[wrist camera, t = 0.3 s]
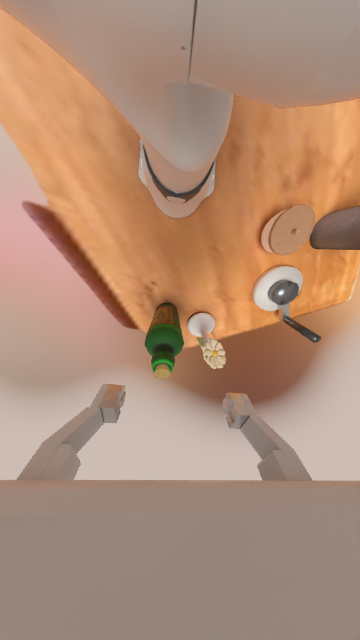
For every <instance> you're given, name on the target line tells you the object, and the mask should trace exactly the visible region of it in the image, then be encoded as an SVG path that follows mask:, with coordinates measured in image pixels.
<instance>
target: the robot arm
mask: <svg viewBox="0 0 360 640" xmlns="http://www.w3.org/2000/svg"><path fill="white" fill-rule="evenodd" d="M0 8H1V9H2V10H4V11H5V12H6V13H8V14H9V15H10V16H12V17H13V18H14V19H16V20H17V21H18V22H20V23H21V24H22V25H24V26H25V27H26V28H27V29H29V30H30V31H31V32H32V33H34V34H35V35H36V36H37V37H39V38H40V39H41V40H42V41H44V42H45V43H46V44H47V45H49V46H50V47H51V48H52V49H53V50H55V51H56V52H57V53H58V54H59V55H61V56H62V57H63V58H64V59H65V60H66V61H67V62H68V63H69V64H71V65H72V66H73V67H74V68H75V69H76V70H77V71H78V72H79V73H80V74H81V75H82V76H83V77H84V78H85V79H86V80H87V81H89V82H90V83H91V84H92V85H93V86H94V87H95V88H96V89H97V90H98V91H99V92H100V93H101V95H102V96H103V97H104V98H105V99H106V100H107V101H108V102H109V103H110V104H111V105H112V106H113V107H114V108H115V110H116V111H117V112H118V113H119V114H120V115H121V116H122V117H123V118H124V119H125V121H126V122H127V123H128V124H129V125H130V126H131V127H132V128H133V130H134V131H135V132H136V133H137V134H138V135H139V137H140V147H141V151H140V160H139V169H138V175H139V179H140V180H141V182H142V183H143V184H144V185H145V187H146V188H147V189H148V190H149V192H150V194H151V196H152V198H153V200H154V202H155V204H156V205H157V207H158V208H159V209H160V210H161V211H162V212H163V213H164V214H166V215H167V216H169V217H172V218H183V217H186V216H188V215H190V214H191V213H192V212H194V211H195V209H196V208H197V207H198V206H199V204H200V203H201V201H202V200H203V199H205V198H207V197H208V196H210V195H211V194H212V192H213V190H214V184H215V164H216V156H217V154H218V152H219V150H220V148H221V146H222V144H223V142H224V139H225V137H226V134H227V131H228V127H229V123H230V119H231V115H232V109H233V102H234V95H235V96H238V97H242V98H245V99H249V100H252V101H256V102H259V103H263V104H266V105H270V106H273V107H277V108H294V107H307V106H318V105H325V104H331V103H338V102H344V101H351V100H355V99H358V98H360V0H0ZM124 390H125V386H124V385H112V384H103V385H102V386H101V388H100V390H99V392H98V393H97V395H96V397H95V399H94V400H93V402H92V404H91V406H90V407H88V408H86V409H84V410H83V411H82V412H81V413H79V414H78V415H77V416H76V417H74V418H73V419H72V420H71V421H69V422H68V423H67V424H66V425H64V426H63V427H62V428H61V429H59V430H58V431H57V432H55V433H54V434H53V435H52V436H50V437H49V438H48V439H47V440H45V441H44V442H43V443H42V444H41V446H40V447H39V449H38V450H37V451H36V453H35V454H34V456H33V457H32V459H31V460H30V461H29V463H28V464H27V465H26V467H25V469H24V470H23V471H22V473H21V474H20V475H19V477H18V478H17V480H0V640H360V481H313V480H312V479H311V477H310V475H309V474H308V472H307V470H306V469H305V467H304V466H303V464H302V462H301V460H300V459H299V457H298V456H297V454H296V452H295V451H294V449H293V448H292V447H290V445H288V444H287V443H286V442H285V441H284V440H283V439H282V438H281V437H280V436H279V435H278V434H277V433H276V432H275V431H274V430H273V429H272V428H271V427H270V426H269V425H268V424H267V423H266V422H265V421H264V420H263V419H262V418H260V417H258V416H257V414H256V412H255V410H254V408H253V406H252V404H251V402H250V400H249V398H248V396H247V395H246V394H239V393H227V394H226V398H225V399H224V400H223V409H224V412H225V413H226V414H227V417H226V419H227V422H228V425H229V428H236V429H240V430H241V432H242V433H243V434H244V436H245V437H246V438H247V440H248V441H249V443H250V444H251V445H252V446H253V448H254V449H255V450H256V452H257V453H258V455H259V456H260V457H261V459H262V461H261V462H260V463H258V465H257V467H258V469H259V472H260V475H261V477H262V480H263V481H226V480H223V481H222V480H221V481H220V480H218V481H217V480H213V481H212V480H211V481H210V480H199V481H198V480H196V481H195V480H192V481H191V480H74V477H75V475H76V473H77V471H78V468H79V466H80V460H79V458H78V457H77V455H76V454H77V452H78V451H79V450H80V449H81V448H82V447H83V446H84V445H85V444H86V443H87V441H88V440H89V439H90V438H91V437H92V436H93V435H94V434H95V433H96V432H97V430H98V429H99V428H100V427H101V426H102V425H103V423H117V420H118V417H119V415H120V408H121V407H122V406H123V403H124V400H125V395H126V393H125V391H124Z"/></svg>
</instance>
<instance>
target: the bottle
mask: <svg viewBox="0 0 360 640" xmlns="http://www.w3.org/2000/svg"><path fill="white" fill-rule="evenodd" d="M183 345H184V341H183V336H182V332H181V327H180V322H179V317H178V312H177V309H176V307H175V306H173V305H172V304H169V303H164V304H160V305H159V306H158V307H157V309H156V311H155V314H154V317H153V320H152V322H151V325H150V328H149V330H148V333H147V336H146V340H145V347H146V348H147V350H148V352H149V353H150V355H152V356H153V357H152V360H151V362H152V370H153V372H154V373H155V376H156V377H157V378H162V379H164V378H167V377H168V376H169V375H170V373H171V372H172V370H173V367H174V362H175V359H174V357H175V356H176V355H177V354H179V353H180V352H181V350H182V348H183Z"/></svg>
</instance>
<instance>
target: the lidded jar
mask: <svg viewBox="0 0 360 640" xmlns="http://www.w3.org/2000/svg"><path fill="white" fill-rule="evenodd" d="M314 224H315V215H314V212H313V210H312V208H311V207H310V206H308V205H305V204H299V205H295V206H292V207H290V208H287V209H285V210H283V211H281V212H279V213H278V214H276V215H275V216H273V217H272V218H271V219H270V220H269V221H268V222H267V224H266V225H265V227H264V229H263V231H262V235H261V243H262V246H263V248H264V249H265V250H266V251H268V252H270V253H273V254H277V255H288V254H291V253H293V252H295V251H297V250H298V249H299V248H301V247H302V246H303V245H304V244H305V242H306V241H307V240H308V238H309V237H310V235H311V233H312V231H313V228H314Z"/></svg>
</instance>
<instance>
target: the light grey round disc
mask: <svg viewBox="0 0 360 640" xmlns="http://www.w3.org/2000/svg"><path fill="white" fill-rule="evenodd" d="M280 280H288V281H292V282H295V283H297V284H298V286H299V291H300V289H301V287H302V283H303V278H302V274H301V272H300V271H299V270H298V269H296V268H294V267H289V266H282V265H281V266H275V267H272V268H270V269H268V270H267V271H265V272H264V273H263V274H262V275H261V276H260V277H259V278H258V279H257V280H256V282H255V284H254V286H253V288H252V300H253V302H254V303H255V304H256V305H257V306H258V307H260V308H261V309H263V310H266V311H274V310H278V304H276V303H274V302H272V301H271V300H270V299H269V298H268V292H269V290H270V288H271V287H272V286H273V285H274V284H275V283H276V282H278V281H280ZM298 293H299V292H298ZM297 296H298V294H297ZM292 301H293V300H292Z"/></svg>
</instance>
